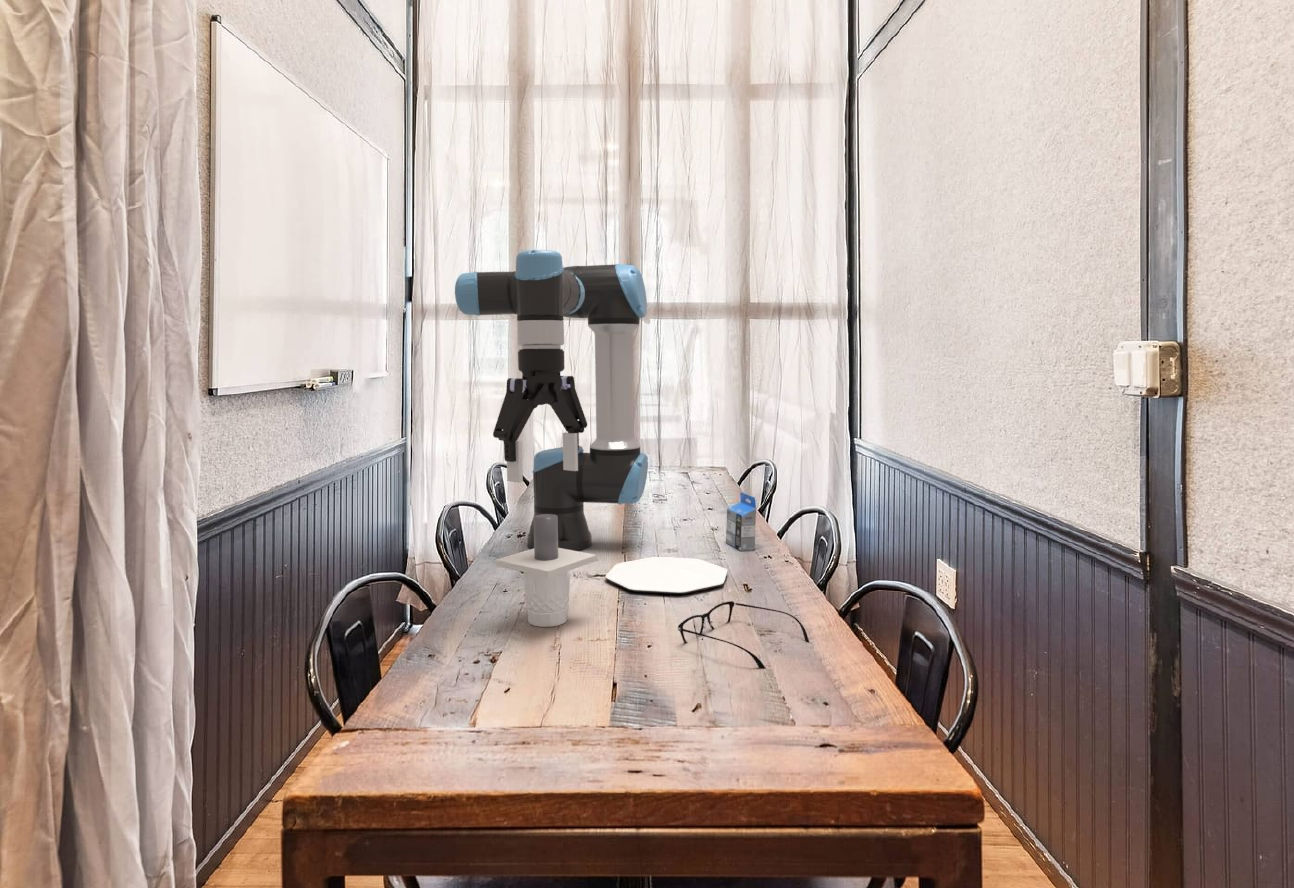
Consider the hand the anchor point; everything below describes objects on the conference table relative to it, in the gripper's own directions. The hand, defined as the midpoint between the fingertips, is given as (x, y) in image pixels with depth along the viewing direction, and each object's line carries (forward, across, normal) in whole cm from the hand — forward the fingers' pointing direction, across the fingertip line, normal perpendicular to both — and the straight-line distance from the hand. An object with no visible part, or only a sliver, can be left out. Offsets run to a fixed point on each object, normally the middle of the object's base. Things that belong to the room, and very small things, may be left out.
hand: (544, 475), depth 127 cm
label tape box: (+25, -62, +4) cm, 67 cm away
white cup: (+25, +1, +1) cm, 25 cm away
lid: (+15, +1, +1) cm, 15 cm away
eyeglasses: (+25, -9, +33) cm, 43 cm away
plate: (+26, -31, +4) cm, 41 cm away
